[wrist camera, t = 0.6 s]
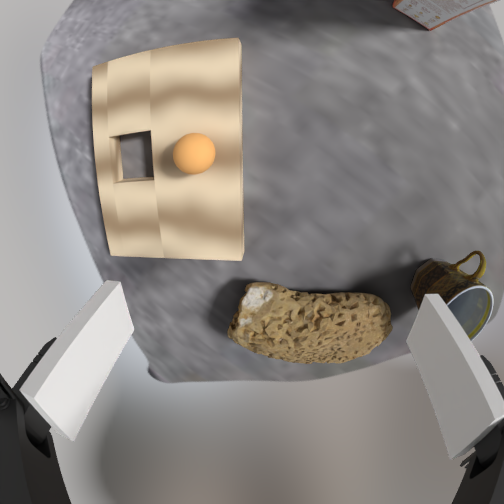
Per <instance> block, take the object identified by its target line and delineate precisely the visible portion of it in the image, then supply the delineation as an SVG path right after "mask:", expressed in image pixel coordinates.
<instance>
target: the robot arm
mask: <svg viewBox="0 0 504 504" xmlns="http://www.w3.org/2000/svg"><path fill="white" fill-rule="evenodd" d="M133 331H134V327H133V324H132V321H131V317H130V314H129V311H128V307H127V304H126V300H125V297H124V293H123V290H122V286H121V282H119V281H109V280H106V281H105V283H104V284H103V285H102V286H101V287H100V288H99V289H98V290H97V291H96V293H95V294H94V295H93V296H92V297H91V298H90V299H89V301H88V302H87V303H86V304H85V305H84V306H83V307H82V309H81V310H80V311H79V312H78V314H77V315H76V316H75V317H74V318H73V319H72V321H71V322H70V323H69V324H68V326H67V327H66V328H65V329H64V330H63V332H62V333H61V334H60V335H59V337H58V338H56V337H55V338H53V339H52V340H51V341H49V342H48V343H46V344H45V345H44V346H43V348H42V349H41V350H40V352H39V353H38V355H37V356H36V357H35V358H34V359H33V362H31V363H30V365H29V366H28V368H27V369H26V370H25V372H24V373H23V374H22V376H21V377H20V379H19V380H18V381H17V383H16V384H15V386H14V387H13V388H12V389H11V387H10V386H9V385H8V383H7V382H6V381H5V380H4V378H3V377H2V375H1V374H0V504H71V502H70V499H69V496H68V493H67V490H66V487H65V484H64V481H63V478H62V474H61V471H60V467H59V464H58V460H57V456H56V452H55V447H54V443H53V438H52V435H51V433H50V432H49V430H50V428H51V427H52V428H53V429H54V430H55V431H56V432H57V433H58V434H59V435H61V436H63V437H65V438H67V439H69V440H71V441H73V442H74V441H75V438H76V436H77V434H78V432H79V430H80V428H81V426H82V424H83V422H84V420H85V418H86V416H87V414H88V412H89V410H90V408H91V406H92V404H93V402H94V400H95V398H96V397H97V395H98V393H99V391H100V389H101V387H102V386H103V384H104V382H105V380H106V378H107V376H108V375H109V373H110V371H111V369H112V367H113V365H114V364H115V362H116V360H117V359H118V357H119V355H120V353H121V351H122V350H123V348H124V346H125V345H126V343H127V341H128V339H129V338H130V336H131V334H132V333H133ZM406 342H407V344H408V347H409V349H410V351H411V353H412V356H413V358H414V360H415V363H416V365H417V367H418V369H419V372H420V375H421V377H422V379H423V382H424V384H425V387H426V390H427V392H428V395H429V397H430V400H431V403H432V406H433V408H434V411H435V414H436V417H437V420H438V422H439V426H440V429H441V432H442V435H443V438H444V442H445V445H446V448H447V452H448V455H449V459H450V460H451V459H454V458H457V457H459V456H462V455H464V454H466V453H467V452H468V451H469V450H470V449H472V448H473V447H475V450H476V451H475V452H474V453H472V454H471V455H470V456H469V457H467V458H466V459H465V460H464V461H462V463H461V465H460V466H461V467H462V466H463V465H465V464H466V463H467V462H469V464H467V465H466V466H465V468H467V469H466V472H465V475H464V477H463V480H462V482H461V484H460V487H459V489H458V491H457V493H456V496H455V498H454V500H453V502H452V504H504V386H503V384H502V382H500V378H499V377H498V375H496V371H495V370H494V368H493V366H492V364H491V363H490V362H489V361H488V360H487V359H486V358H485V357H484V356H483V355H481V356H480V355H479V354H478V352H477V351H476V349H475V347H474V346H473V344H472V342H471V341H470V339H469V338H468V336H467V334H466V333H465V331H464V330H463V328H462V327H461V325H460V324H459V322H458V321H457V319H456V318H455V317H454V315H453V314H452V312H451V311H450V309H449V308H448V307H447V305H446V304H445V302H444V301H443V300H442V298H441V297H440V296H439V294H425V295H424V298H423V301H422V304H421V306H420V309H419V312H418V314H417V317H416V319H415V322H414V324H413V327H412V329H411V331H410V334H409V336H408V338H407V340H406Z"/></svg>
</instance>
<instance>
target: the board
mask: <svg viewBox="0 0 504 504" xmlns="http://www.w3.org/2000/svg"><path fill="white" fill-rule="evenodd" d="M92 120H93V139H94V152H95V163H96V172H97V180H98V188H99V195H100V201H101V208H102V214H103V219H104V225H105V230H106V235H107V240H108V245H109V249H110V254H111V256H130V257H154V258H180V259H207V260H236V261H242V258H243V254H244V212H243V151H242V45H241V42H240V40H239V38H228V39H216V40H207V41H199V42H191V43H185V44H179V45H173V46H168V47H163V48H158V49H153V50H149V51H144V52H140V53H136V54H133V55H129V56H125V57H122V58H118V59H115V60H112V61H108V62H105V63H102V64H99V65H96V66H94V67H93V70H92ZM144 131H151V140H152V156H153V169H154V177H141V178H130V179H123V171H122V161H121V148H120V135H125V134H131V133H137V132H144ZM190 133H200V134H203V135H205V136H207V137H208V138H209V139H210V140H211V141H212V142H213V144H214V147H215V159H214V162H213V164H212V165H211V166H210V168H209V169H207V170H206V171H205V172H203V173H200V174H195V175H192V174H187V173H184V172H182V171H181V170H180V169H179V168H178V167H177V166H176V164H175V162H174V159H173V150H174V147H175V144H176V143H177V141H178V140H179V139H180V138H181V137H183V136H184V135H187V134H190Z"/></svg>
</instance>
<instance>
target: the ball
mask: <svg viewBox="0 0 504 504" xmlns="http://www.w3.org/2000/svg"><path fill="white" fill-rule="evenodd" d="M173 159H174V162H175V164H176V166H177V167H178V168H179V169H180V170H181V171H182V172H184V173H187V174H192V175H195V174H200V173H203V172H205V171H206V170H207V169H209V168H210V166H211V165H212V164H213V162H214V159H215V147H214V144H213V142H212V141H211V140H210V139H209V138H208V137H207V136H205V135H203V134H200V133H190V134H187V135H184V136H183V137H181V138H180V139H179V140H178V141H177V143H176V144H175V147H174V150H173Z"/></svg>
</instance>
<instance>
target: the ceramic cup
mask: <svg viewBox="0 0 504 504" xmlns="http://www.w3.org/2000/svg"><path fill="white" fill-rule="evenodd" d="M476 254H478V255H479V256H480V265H479V267H478V269H477V271H476V272H475V273H474V274H472V275H468V274H466V273H465V272H463V271H461V270H460V269H459V266H460V265H461V264H462V263H465V262H467V261H468V260H469V259H470V258H472V257H473V256H474V255H476ZM485 268H486V260H485V257H484V255H483V254H482V252H480V251H473V252H472V253H470V254H469V255H468V256H467V257H466V258H464V259H463V260H460V261H458V262H457V263H456V264H450V263H448V262H447V261H445V260H441V259H433V258H431V259H430V260H428V261H427V262H426V263H424V264H423V265H422V266H420V267H419V268H418V269H417V270H416V272H415V275H414V278H413V281H412V284H411V290H412V293H413V295H414V298H415V301H416V304H417V307H418V309H420V306H421V304H422V301H423V298H424V295H425V294H439V296H440V297H441V298H442V300H443V301H444V302H445V304H446V305H447V307H448V308H449V309H450V311H451V312H452V314H453V315H454V317H455V318H456V319H457V321H458V322H459V324H460V325H461V327H462V328H463V330H464V331H465V333H466V334H467V336H468V338H469V339H470V341H472V340H473V339H475V338H476V337H477V335H478V334H479V333H480V332H481V331H482V329H483V328H484V327H485V325H486V323H487V322H488V320H489V318H490V315H491V312H492V309H493V295H492V292H491V290H490V289H489V288H488V287H487V286H485V285H484V284H483V283H481V282H480V281H478V279H480V278H481V277H482V276H483V274H484V272H485Z"/></svg>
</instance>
